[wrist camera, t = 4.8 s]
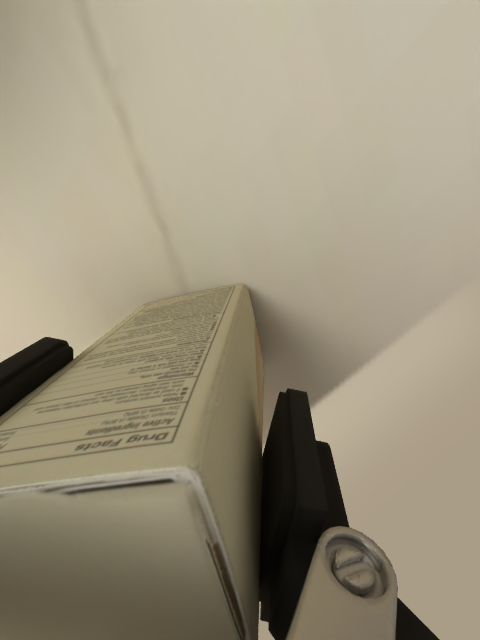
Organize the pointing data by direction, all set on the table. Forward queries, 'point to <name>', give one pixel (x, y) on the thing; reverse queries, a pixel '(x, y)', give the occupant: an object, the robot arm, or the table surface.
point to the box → (139, 482)
